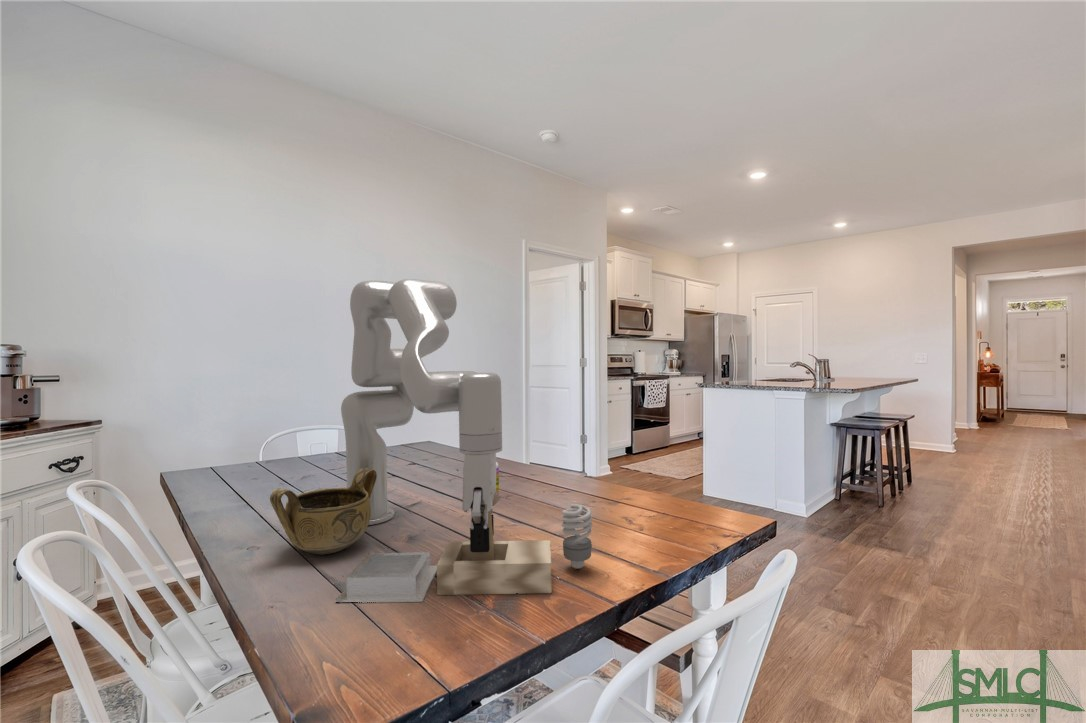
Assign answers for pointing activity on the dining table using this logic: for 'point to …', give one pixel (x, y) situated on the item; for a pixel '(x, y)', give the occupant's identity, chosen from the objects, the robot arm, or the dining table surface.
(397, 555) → the tray
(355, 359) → the robot arm
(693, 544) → the dining table surface
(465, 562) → the block
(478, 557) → the handle
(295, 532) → the ceramic bowl
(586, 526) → the light bulb
